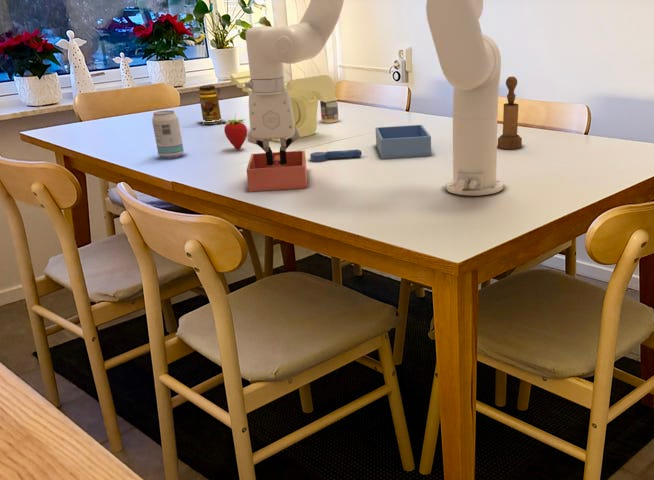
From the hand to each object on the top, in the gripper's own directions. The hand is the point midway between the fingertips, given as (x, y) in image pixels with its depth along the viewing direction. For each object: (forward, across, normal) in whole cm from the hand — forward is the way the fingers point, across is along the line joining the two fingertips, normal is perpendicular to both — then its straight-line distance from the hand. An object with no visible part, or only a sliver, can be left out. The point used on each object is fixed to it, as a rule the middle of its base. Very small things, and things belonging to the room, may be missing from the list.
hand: (277, 166), depth 176 cm
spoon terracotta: (+1, 0, 0) cm, 1 cm away
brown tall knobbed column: (+3, +62, +21) cm, 65 cm away
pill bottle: (+4, +15, +77) cm, 78 cm away
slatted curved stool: (+4, +1, +58) cm, 58 cm away
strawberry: (+4, -13, +40) cm, 42 cm away
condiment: (+4, -26, +88) cm, 92 cm away
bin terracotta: (+3, 0, 0) cm, 3 cm away
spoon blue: (+3, +14, +20) cm, 25 cm away
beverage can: (+4, -31, +36) cm, 47 cm away
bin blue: (+3, +33, +25) cm, 41 cm away
